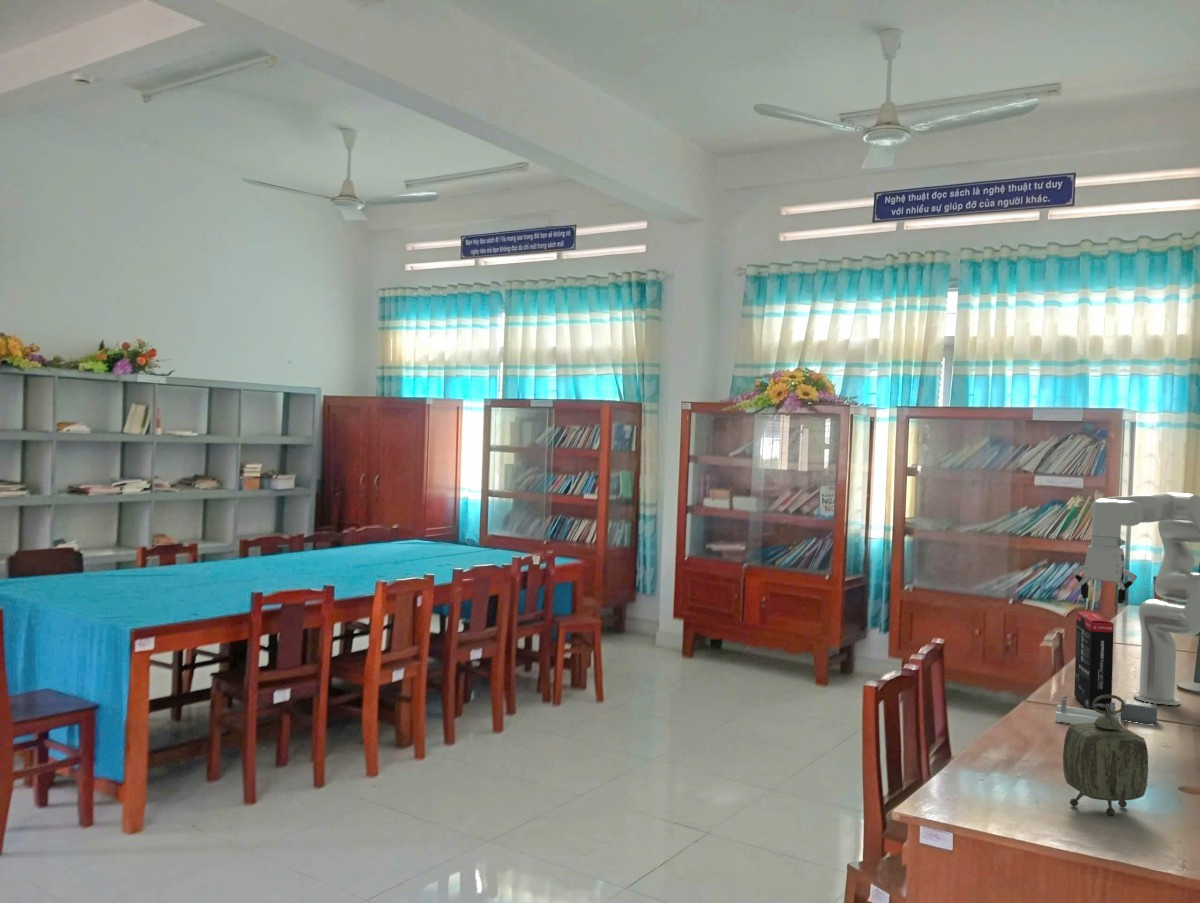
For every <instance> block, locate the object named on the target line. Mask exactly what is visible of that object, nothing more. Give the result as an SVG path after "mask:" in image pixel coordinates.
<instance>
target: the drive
mask: <svg viewBox="0 0 1200 903" xmlns="http://www.w3.org/2000/svg"><path fill="white" fill-rule="evenodd" d="M1122 700H1123V701H1124V703H1125V707H1124V709H1123V710H1122V711H1121V712H1120V713H1119V721H1120V720H1127V721H1131V722H1130V723H1133V722H1138V723H1137V724H1139V723H1143V724H1142V725H1146V724H1153V725H1158V724H1157V723H1158V722H1157V721H1158V719H1157V718H1158V706H1157V704H1151V703H1146V702H1142V701H1135V700H1134V701H1133V700H1126V699H1122ZM1121 708H1122V703H1121V702H1120V709H1121ZM1153 725H1152V726H1153Z"/></svg>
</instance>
